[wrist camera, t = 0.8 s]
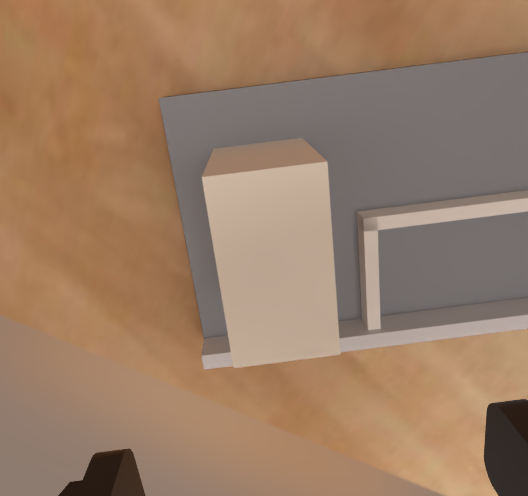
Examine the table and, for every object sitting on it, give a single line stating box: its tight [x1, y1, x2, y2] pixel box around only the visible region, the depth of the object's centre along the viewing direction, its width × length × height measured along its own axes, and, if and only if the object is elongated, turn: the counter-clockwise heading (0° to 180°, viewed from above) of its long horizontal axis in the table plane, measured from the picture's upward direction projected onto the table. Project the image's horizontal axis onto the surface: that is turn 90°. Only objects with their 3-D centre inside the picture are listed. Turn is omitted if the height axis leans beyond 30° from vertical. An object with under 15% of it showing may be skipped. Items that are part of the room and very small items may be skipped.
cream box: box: [202, 138, 340, 368], centre depth 23 cm, size 9×5×8 cm, turn 7°
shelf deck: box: [159, 52, 528, 370], centre depth 27 cm, size 23×16×4 cm
